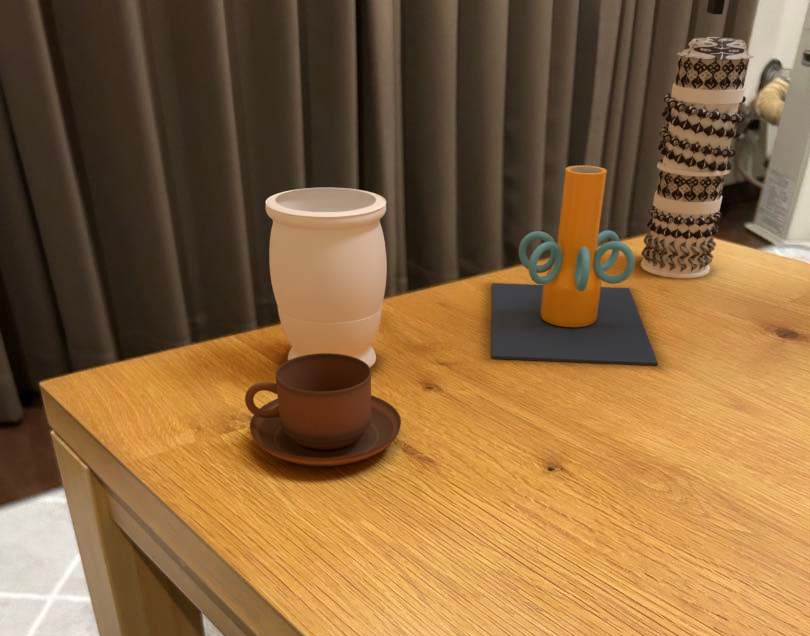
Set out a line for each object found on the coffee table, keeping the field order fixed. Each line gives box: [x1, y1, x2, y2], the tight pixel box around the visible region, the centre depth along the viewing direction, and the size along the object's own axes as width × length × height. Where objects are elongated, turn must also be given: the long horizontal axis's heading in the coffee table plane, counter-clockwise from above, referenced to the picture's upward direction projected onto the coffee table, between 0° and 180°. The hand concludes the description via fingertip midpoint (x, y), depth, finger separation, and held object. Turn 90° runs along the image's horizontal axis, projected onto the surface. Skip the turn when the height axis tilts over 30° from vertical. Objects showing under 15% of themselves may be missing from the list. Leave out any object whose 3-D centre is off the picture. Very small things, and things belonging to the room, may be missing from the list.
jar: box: [265, 187, 388, 368], centre depth 79 cm, size 11×10×15 cm
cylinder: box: [518, 165, 636, 327], centre depth 89 cm, size 12×10×15 cm
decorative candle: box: [640, 36, 754, 279], centre depth 102 cm, size 9×9×25 cm
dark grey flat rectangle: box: [490, 282, 659, 367], centre depth 93 cm, size 22×16×1 cm
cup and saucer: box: [244, 353, 402, 467], centre depth 68 cm, size 12×12×6 cm
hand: (797, 15), depth 72 cm, fingers open, 13 cm apart
